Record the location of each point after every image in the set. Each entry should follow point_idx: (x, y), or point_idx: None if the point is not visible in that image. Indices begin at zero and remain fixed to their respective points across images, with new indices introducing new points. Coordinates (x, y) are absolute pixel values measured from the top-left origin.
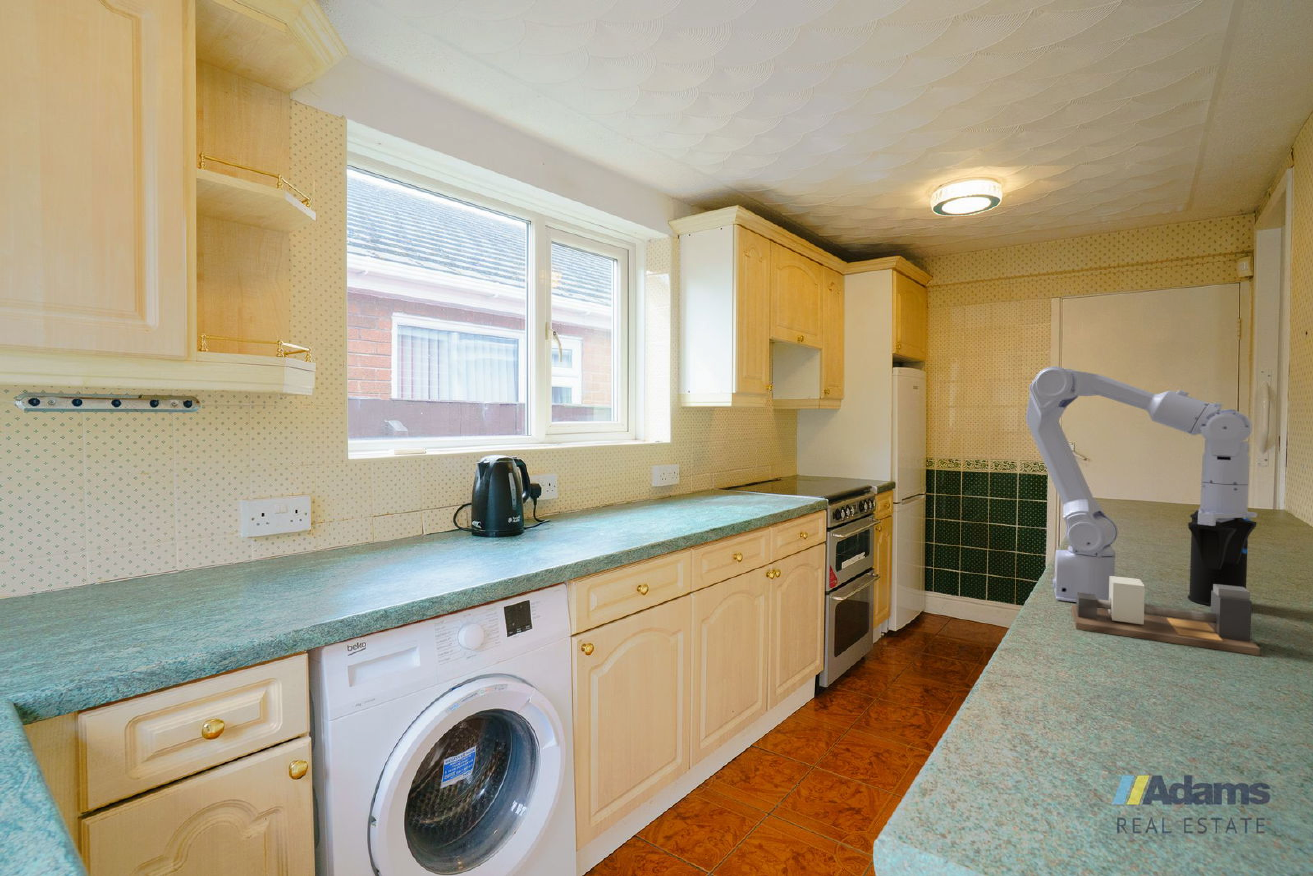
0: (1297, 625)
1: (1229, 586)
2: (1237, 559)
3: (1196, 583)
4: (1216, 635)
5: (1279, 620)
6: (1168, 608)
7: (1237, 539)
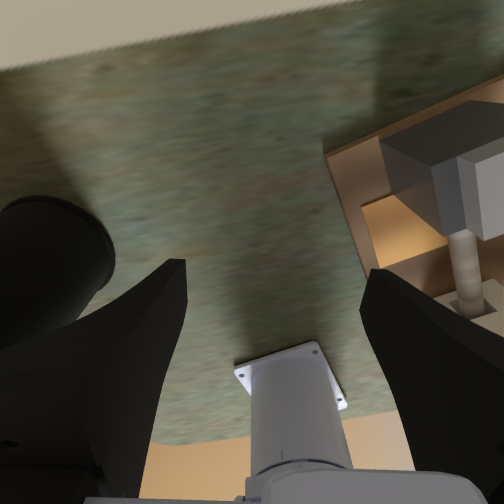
0: (92, 66)
1: (500, 197)
2: (181, 267)
3: (86, 304)
4: None
5: (84, 112)
6: (474, 272)
7: (149, 339)
